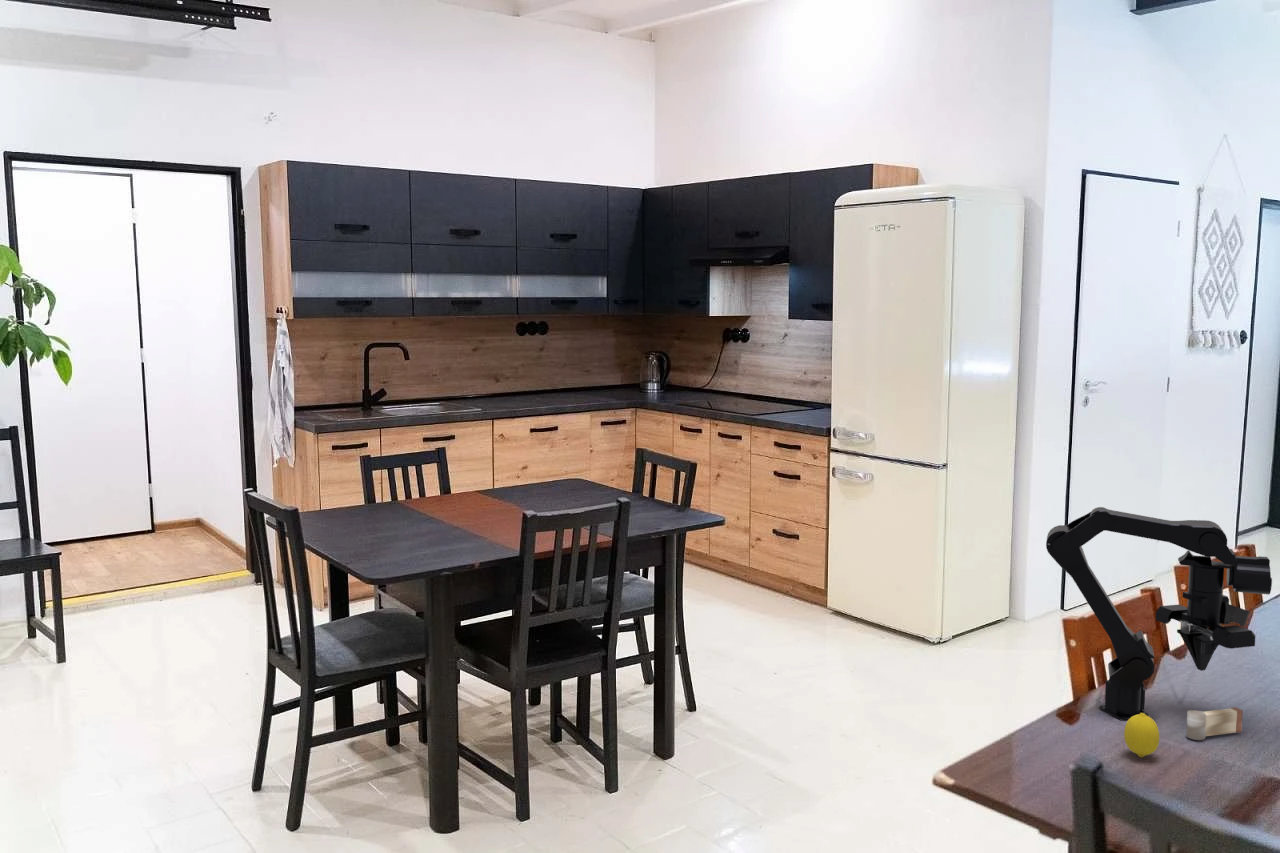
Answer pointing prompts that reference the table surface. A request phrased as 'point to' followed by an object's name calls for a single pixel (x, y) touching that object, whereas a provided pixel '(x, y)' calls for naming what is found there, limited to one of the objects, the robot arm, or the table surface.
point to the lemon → (1141, 734)
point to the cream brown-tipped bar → (1213, 722)
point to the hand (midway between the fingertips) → (1201, 669)
